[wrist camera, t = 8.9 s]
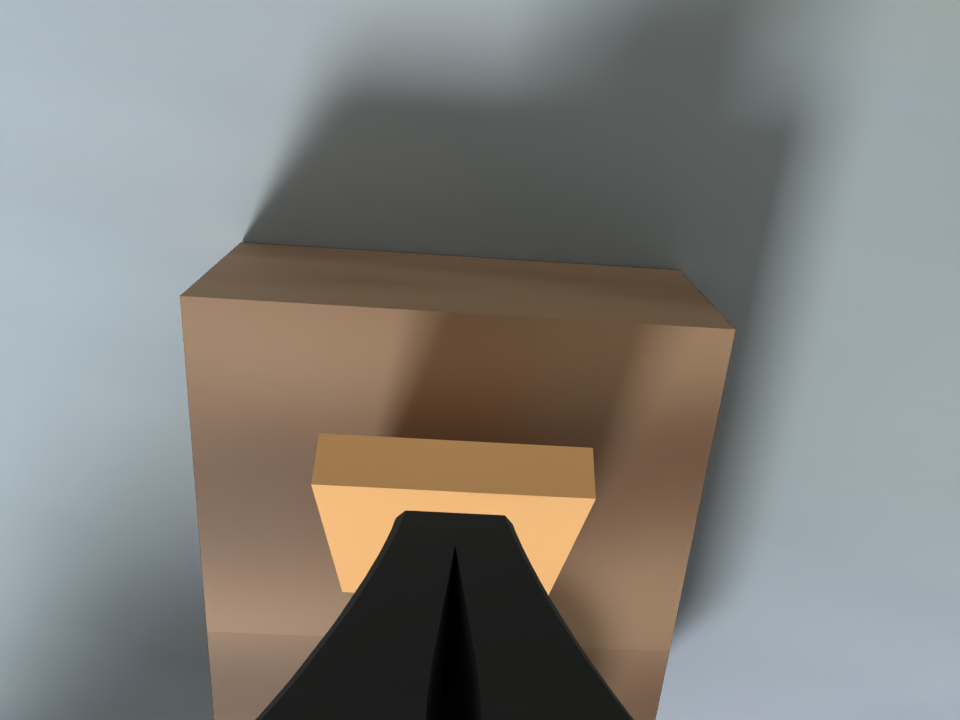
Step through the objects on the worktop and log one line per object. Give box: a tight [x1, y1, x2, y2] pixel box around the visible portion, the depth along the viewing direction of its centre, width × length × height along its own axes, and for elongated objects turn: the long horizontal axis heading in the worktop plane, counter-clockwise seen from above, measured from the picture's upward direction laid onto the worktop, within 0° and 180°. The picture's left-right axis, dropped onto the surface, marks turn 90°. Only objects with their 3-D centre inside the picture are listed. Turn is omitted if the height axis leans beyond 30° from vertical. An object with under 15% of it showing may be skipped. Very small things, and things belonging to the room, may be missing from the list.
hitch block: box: [180, 242, 736, 720], centre depth 18 cm, size 13×10×4 cm
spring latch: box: [311, 433, 596, 595], centre depth 13 cm, size 5×4×1 cm
